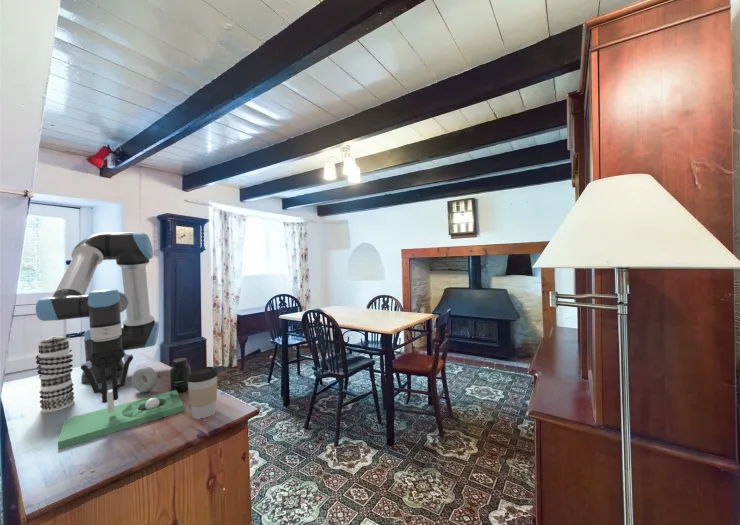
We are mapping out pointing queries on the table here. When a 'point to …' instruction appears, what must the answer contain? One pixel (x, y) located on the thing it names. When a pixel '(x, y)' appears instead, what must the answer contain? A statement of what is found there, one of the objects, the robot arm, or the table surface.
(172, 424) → the table surface
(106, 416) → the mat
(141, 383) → the donut
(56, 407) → the decorative candle
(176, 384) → the supplement bottle
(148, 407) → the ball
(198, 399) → the coffee cup
